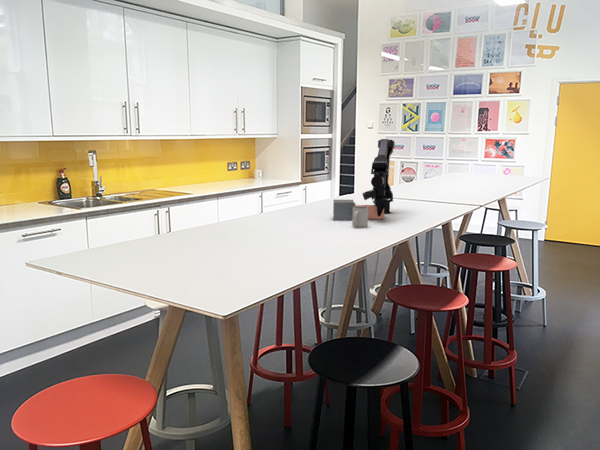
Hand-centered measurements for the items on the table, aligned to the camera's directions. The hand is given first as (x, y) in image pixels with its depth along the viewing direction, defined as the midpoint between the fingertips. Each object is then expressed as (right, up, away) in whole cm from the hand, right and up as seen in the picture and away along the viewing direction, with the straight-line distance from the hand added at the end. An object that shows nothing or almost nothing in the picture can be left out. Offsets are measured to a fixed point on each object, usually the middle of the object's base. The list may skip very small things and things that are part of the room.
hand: (378, 215), depth 257 cm
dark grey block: (-18, -1, +1) cm, 18 cm away
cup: (-12, -6, -19) cm, 23 cm away
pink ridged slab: (-6, -1, 0) cm, 6 cm away
